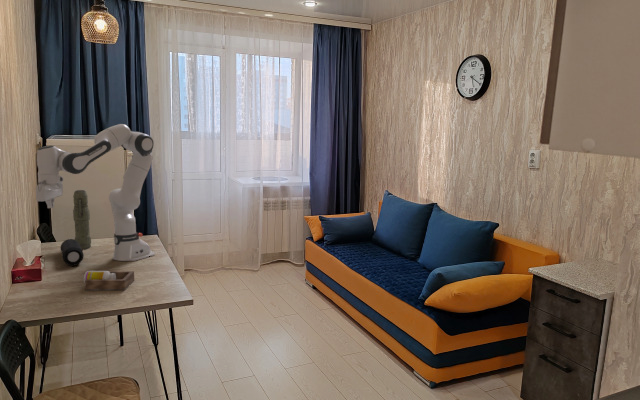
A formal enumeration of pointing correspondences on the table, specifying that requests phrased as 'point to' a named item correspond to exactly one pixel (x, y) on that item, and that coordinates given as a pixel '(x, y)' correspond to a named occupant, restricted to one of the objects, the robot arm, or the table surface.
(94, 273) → the supplement bottle
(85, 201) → the thermos
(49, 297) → the table surface
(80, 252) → the portable speaker
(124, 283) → the wooden tray
